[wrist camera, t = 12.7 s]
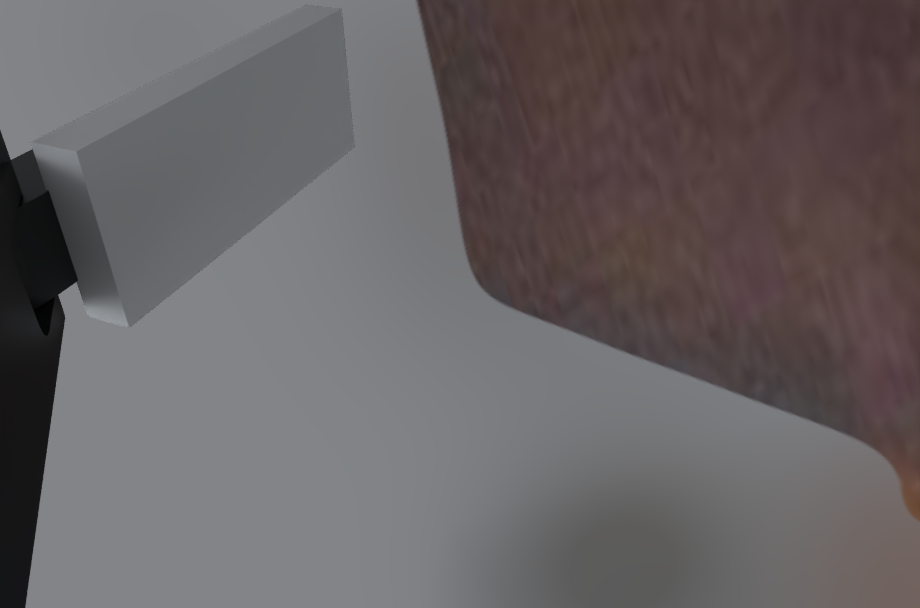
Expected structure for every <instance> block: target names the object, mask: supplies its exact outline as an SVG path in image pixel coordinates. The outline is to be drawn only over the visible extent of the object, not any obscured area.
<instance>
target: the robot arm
mask: <svg viewBox="0 0 920 608" xmlns="http://www.w3.org/2000/svg"><path fill="white" fill-rule="evenodd" d="M30 143H31V146H32V150H30V151H28V152H26V153H24V154H22V155H20V156H18V157H16V158H14V159H12V160H10V157H9V154H8V151H7V148H6V145H5V142H4V140H3V137H2V134H1V131H0V608H25V605H26V597H27V589H28V582H29V576H30V569H31V561H32V554H33V547H34V540H35V532H36V525H37V518H38V510H39V503H40V496H41V489H42V482H43V474H44V467H45V460H46V453H47V445H48V438H49V430H50V424H51V416H52V409H53V402H54V395H55V387H56V380H57V373H58V366H59V358H60V350H61V344H62V337H63V329H64V322H65V315H64V312H63V308H62V305H61V302H60V299H59V296H58V294H60V293H61V292H62V291H64V290H65V289H67V288H68V287H70V286H71V285H73V284H74V283H75V282H77V284H78V287H79V290H80V293H81V296H82V299H83V303H84V306H85V309H86V311H87V315H88V316H89V317H92V318H95V319H99V320H102V321H106V322H110V323H113V324H116V325H120V326H123V327H127V328H130V327H131V326H132V325H134V324H135V323H136V322H137V321H139V320H140V319H141V318H142V317H144V316H145V315H146V314H147V313H149V312H150V311H151V310H152V309H154V308H155V307H156V306H157V305H158V304H160V303H161V302H162V301H163V300H165V299H166V298H167V297H169V296H170V295H171V294H172V293H173V292H175V291H176V290H177V289H179V288H180V287H181V286H182V285H184V284H185V283H186V282H187V281H188V280H190V279H191V278H192V277H194V276H195V275H196V274H197V273H199V272H200V271H201V270H202V269H203V268H205V267H206V266H207V265H209V264H210V263H211V262H212V261H213V260H215V259H216V258H217V257H218V256H220V255H221V254H222V253H223V252H224V251H226V250H227V249H228V248H230V247H231V246H232V245H233V244H235V243H236V242H237V241H238V240H240V239H241V238H242V237H243V236H245V235H246V234H247V233H248V232H250V231H251V230H252V229H253V228H255V227H256V226H257V225H258V224H260V223H261V222H262V221H263V220H264V219H266V218H267V217H268V216H270V215H271V214H272V213H273V212H274V211H276V210H277V209H278V208H280V207H281V206H282V205H283V204H285V203H286V202H287V201H288V200H290V198H292V197H293V196H294V195H296V194H297V193H298V192H299V191H300V190H302V189H303V188H304V187H306V186H307V185H308V184H309V183H311V182H312V181H313V180H314V179H316V178H317V177H318V176H319V175H321V174H322V173H323V172H324V171H326V170H327V169H328V168H329V167H331V166H332V165H333V164H334V163H335V162H337V161H338V160H339V159H341V158H342V157H343V156H344V155H346V154H347V153H348V152H349V151H351V150H352V149H353V148H354V147H355V145H354V135H353V124H352V113H351V103H350V92H349V81H348V71H347V60H346V49H345V38H344V28H343V17H342V9H340V8H331V7H322V6H313V5H304V6H302V7H300V8H298V9H296V10H294V11H292V12H290V13H288V14H286V15H285V16H283V17H280V18H278V19H276V20H274V21H272V22H270V23H268V24H266V25H264V26H262V27H260V28H258V29H256V30H254V31H252V32H250V33H248V34H246V35H244V36H243V37H240V38H238V39H236V40H234V41H232V42H230V43H228V44H226V45H224V46H222V47H220V48H219V49H216V50H214V51H212V52H210V53H208V54H206V55H204V56H202V57H200V58H198V59H196V60H194V61H192V62H190V63H188V64H186V65H184V66H182V67H180V68H178V69H176V70H174V71H172V72H170V73H168V74H166V75H164V76H162V77H160V78H158V79H156V80H154V81H152V82H150V83H148V84H146V85H144V86H142V87H140V88H138V89H136V90H134V91H132V92H130V93H128V94H126V95H124V96H122V97H120V98H118V99H116V100H114V101H112V102H110V103H108V104H106V105H104V106H102V107H100V108H98V109H96V110H94V111H92V112H90V113H88V114H86V115H84V116H82V117H80V118H78V119H76V120H74V121H72V122H70V123H68V124H66V125H64V126H62V127H60V128H58V129H56V130H54V131H52V132H50V133H48V134H46V135H44V136H42V137H40V138H38V139H36V140H34V141H32V142H30Z"/></svg>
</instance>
